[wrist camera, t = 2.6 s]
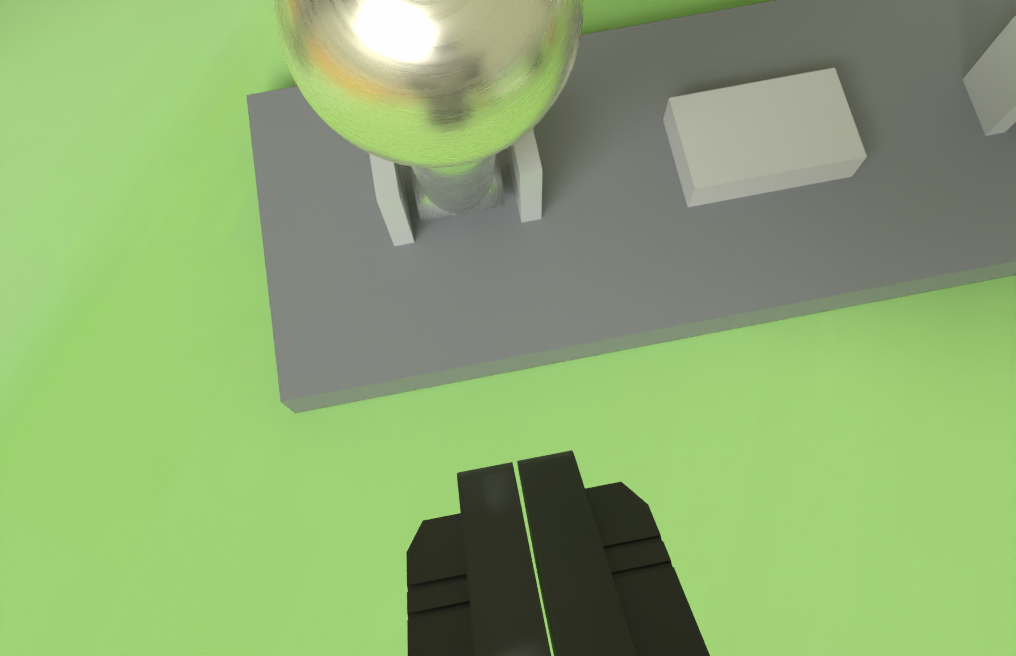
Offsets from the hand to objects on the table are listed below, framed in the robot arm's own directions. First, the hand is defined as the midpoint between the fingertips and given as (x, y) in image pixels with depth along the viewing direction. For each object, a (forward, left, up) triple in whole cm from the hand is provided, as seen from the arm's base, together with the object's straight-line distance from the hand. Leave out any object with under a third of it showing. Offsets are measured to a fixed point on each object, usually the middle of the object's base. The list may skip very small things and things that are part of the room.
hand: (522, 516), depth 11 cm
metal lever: (-9, +6, -10) cm, 15 cm away
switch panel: (-3, +13, -13) cm, 19 cm away
